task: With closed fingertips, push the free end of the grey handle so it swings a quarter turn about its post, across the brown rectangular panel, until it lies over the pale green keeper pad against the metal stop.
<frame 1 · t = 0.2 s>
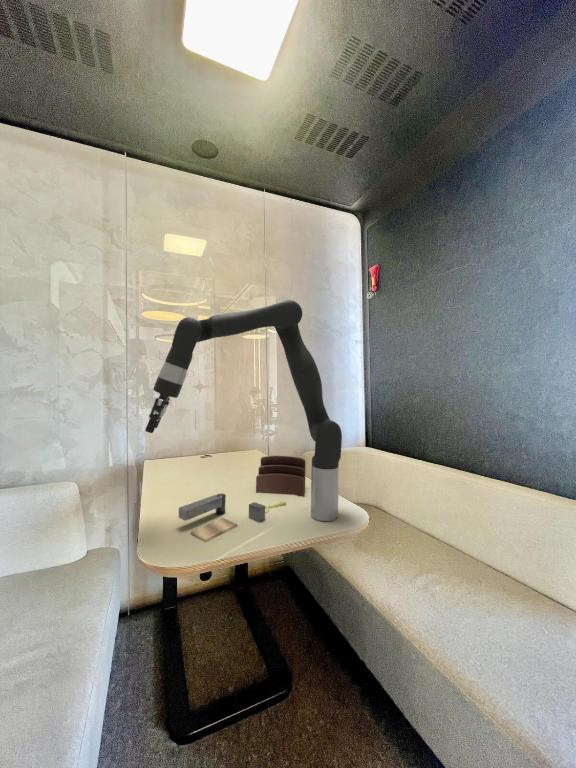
hand: (151, 429, 91), 30 cm above the table, tool tilted 20°, fingers open, 8 cm apart
brown rectangular panel: (214, 531, 90), on the table
letter holder: (281, 492, 126), on the table
grey handle: (204, 510, 97), point 4 cm above the table, hinge at 0.0°
key: (269, 511, 108), on the table
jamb: (220, 514, 102), on the table
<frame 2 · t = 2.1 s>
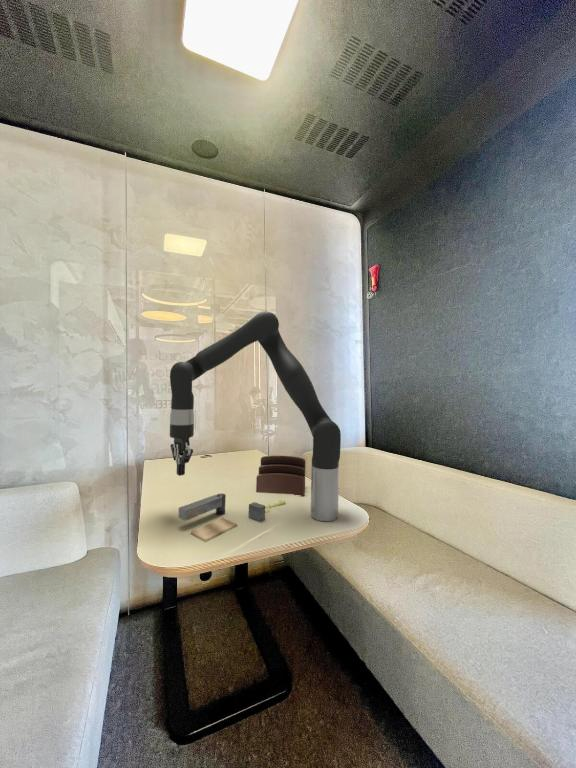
hand: (180, 474, 99), 14 cm above the table, tool pointing down, fingers closed
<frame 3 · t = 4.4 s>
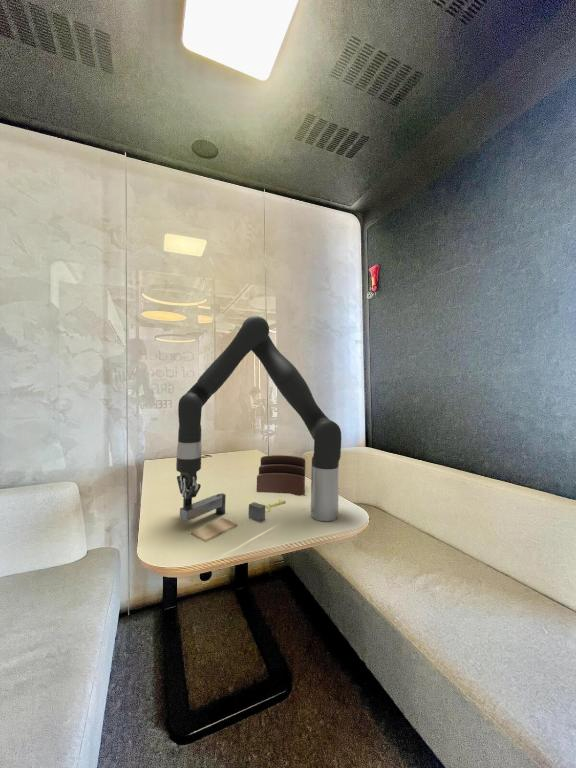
hand: (187, 509, 96), 4 cm above the table, tool pointing down, fingers closed
grey handle: (205, 510, 97), point 4 cm above the table, hinge at 2.9°, touching gripper
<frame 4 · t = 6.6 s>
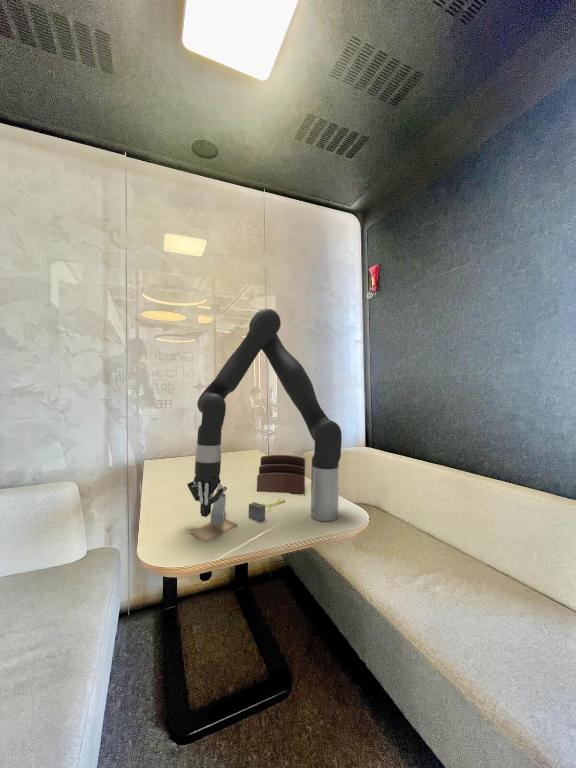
hand: (205, 515, 90), 5 cm above the table, tool pointing down, fingers closed
grey handle: (219, 512, 96), point 4 cm above the table, hinge at 45.6°, touching gripper
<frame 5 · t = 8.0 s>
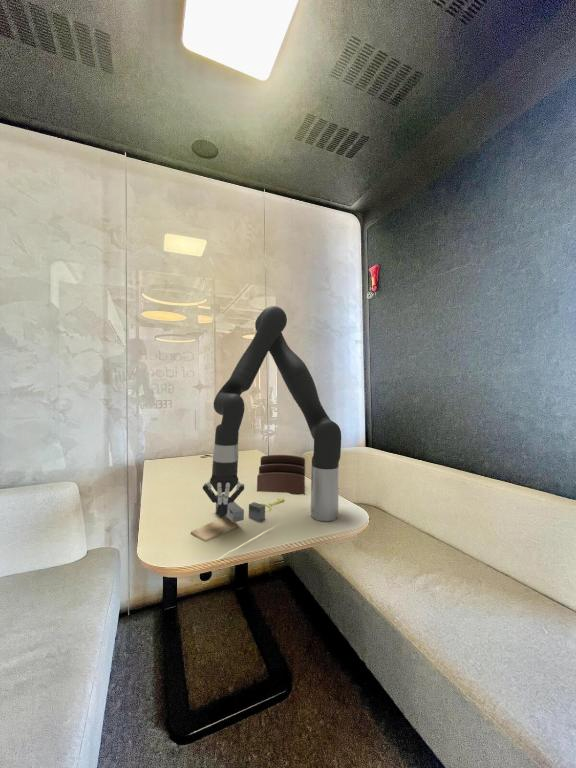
hand: (222, 515, 91), 5 cm above the table, tool pointing down, fingers closed
grey handle: (228, 511, 97), point 4 cm above the table, hinge at 70.1°, touching gripper
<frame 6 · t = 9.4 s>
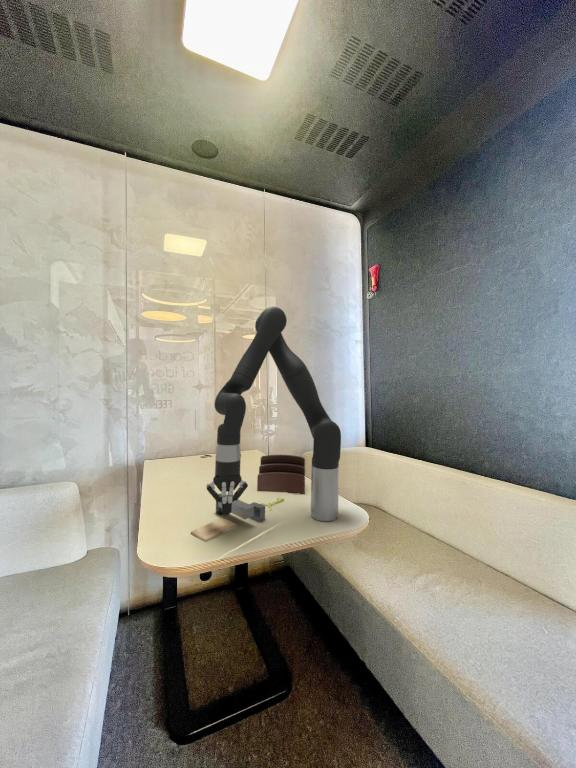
hand: (226, 514, 92), 5 cm above the table, tool pointing down, fingers closed
grey handle: (232, 509, 98), point 4 cm above the table, hinge at 85.2°
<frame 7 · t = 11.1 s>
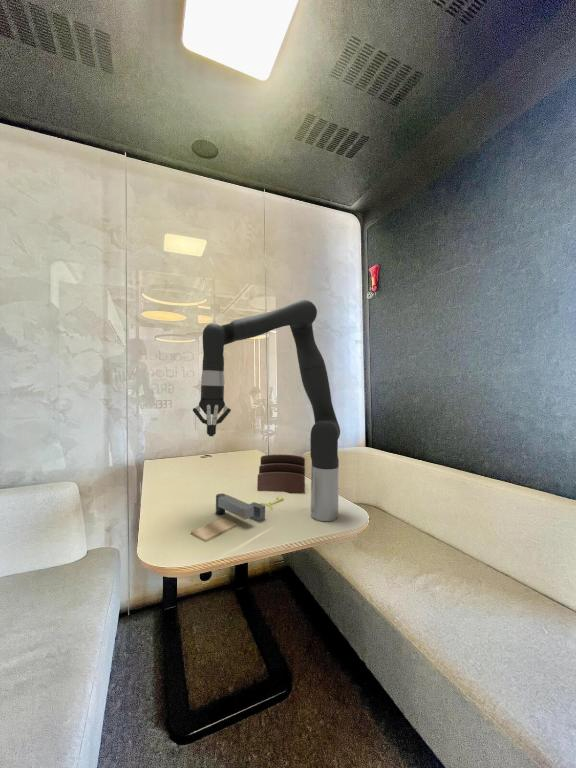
hand: (211, 435, 100), 27 cm above the table, tool pointing down, fingers closed
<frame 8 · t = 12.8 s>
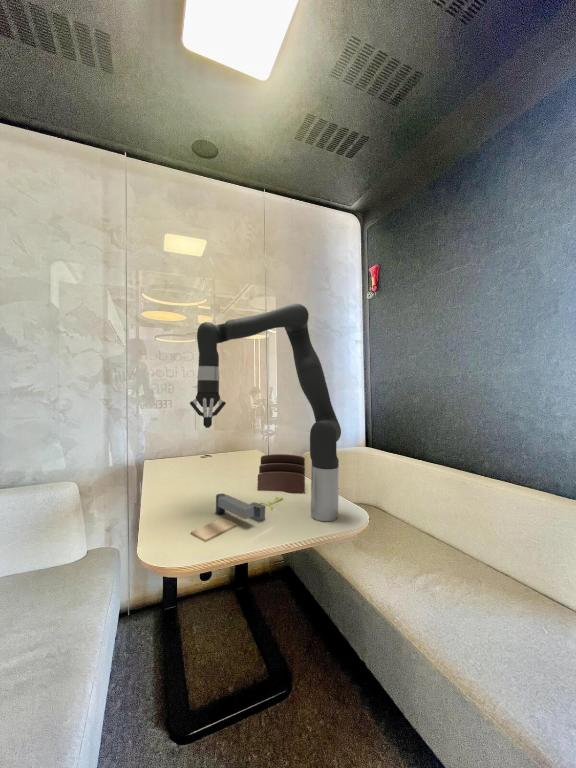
hand: (207, 427, 107), 29 cm above the table, tool pointing down, fingers closed
at the end: grey handle at +85° (first picture: +0°); the gripper is holding nothing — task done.
